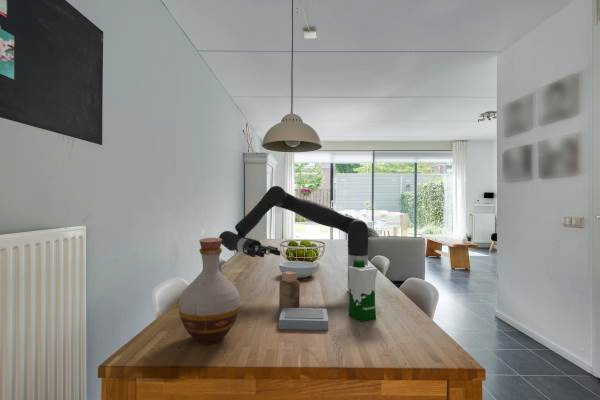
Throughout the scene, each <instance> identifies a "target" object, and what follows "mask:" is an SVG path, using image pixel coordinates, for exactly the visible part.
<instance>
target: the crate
mask: <svg viewBox="0 0 600 400" xmlns="http://www.w3.org/2000/svg"><path fill="white" fill-rule="evenodd" d="M300 287H301V286H300V280H298V279H297V281H293V282H286V281H283V280H282V279H281V280H279V286H278V288H279V289H278V290H279V291H278V292H279V293H278V294H279V297H278V304H279V306H278V309H279V310H280V311H282V308H300V293H301V292H300Z"/></svg>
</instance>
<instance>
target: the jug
mask: <svg viewBox="0 0 600 400" xmlns="http://www.w3.org/2000/svg"><path fill="white" fill-rule="evenodd" d="M221 243H222V239H221V238H219V237H205V238H200V239H199V245H200V248H199V253H200V255H201V259H202V260H201V261H202V271H201V272H200V273H199V274H198V275H197V276H196V277H195V278H194V280H192V281H191V282H190V283H189V284H188V285H187V286H186V287H185V288H184V289H183V291H182V292H181V294H180V297H179V300H178V312H179V317H180V320H181V323H182V325H183V328H184V329H185V331H186V332H187V333H188V334H189V336H190V337H191V338H192V339H193V341H195V342H196V343H198V344H200V345H213V344H214V345H215V344H217V343H220V342H221V341H222V340H224V338H225V337H226V336H227V334H228V333H229V332H230V330H231V329H232V327H233V326H234V325H235V323H236V320H237V318H238V315H239V312H240V306H241V295H240V292H239V290H238V288H237V287H236V286H235V285H234V284H233V283H232V282H231V281H230V280H229V279H228V278H227V277H226V276H225V275H223V272H222V271H223V269H222V263H221V260H220V255H221V253H222V252H223V251H222V250H223V248H222V247H221V246H222V244H221Z"/></svg>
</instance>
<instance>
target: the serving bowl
mask: <svg viewBox="0 0 600 400" xmlns="http://www.w3.org/2000/svg"><path fill="white" fill-rule="evenodd" d="M317 266H318V264H317V263H314V262H311V261H301V260H292V261H291V260H289V261H282V262H279V264H278V267H279V270H280V272H281V274H282V273H283V272H289V271H291V272H295V273H297V279H305V278H307V277H309V276H312V275H313V274H314V273H315V272H316V271H317Z"/></svg>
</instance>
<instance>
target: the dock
mask: <svg viewBox="0 0 600 400" xmlns="http://www.w3.org/2000/svg"><path fill="white" fill-rule="evenodd" d="M278 329H279V330H303V331H304V330H305V331H307V330H309V331H329V316H328V310H327V308H313V307H312V308H310V307H308V308H306V307H299V308H282V310H280V314H279V318H278Z"/></svg>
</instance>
